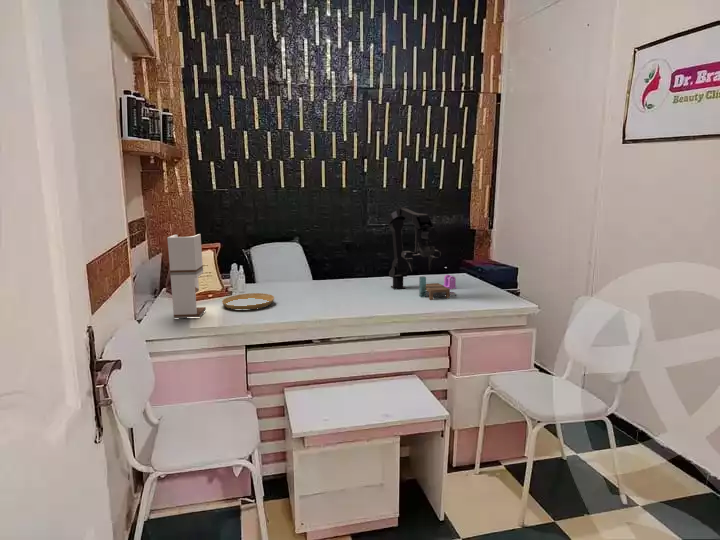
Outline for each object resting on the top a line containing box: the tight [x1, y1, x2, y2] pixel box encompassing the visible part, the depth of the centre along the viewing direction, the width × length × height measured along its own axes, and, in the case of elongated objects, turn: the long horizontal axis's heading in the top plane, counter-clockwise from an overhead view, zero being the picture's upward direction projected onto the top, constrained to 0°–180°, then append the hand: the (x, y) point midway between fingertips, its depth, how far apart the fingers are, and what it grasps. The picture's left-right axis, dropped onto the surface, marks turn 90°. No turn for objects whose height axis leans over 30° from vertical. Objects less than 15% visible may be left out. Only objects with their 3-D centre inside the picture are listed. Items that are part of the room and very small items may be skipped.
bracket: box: [442, 274, 457, 290], centre depth 259 cm, size 13×6×7 cm, turn 110°
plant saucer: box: [221, 292, 275, 310], centre depth 229 cm, size 24×24×3 cm
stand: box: [426, 282, 451, 301], centre depth 243 cm, size 15×10×5 cm, turn 13°
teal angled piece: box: [418, 276, 446, 298], centre depth 243 cm, size 2×14×10 cm, turn 103°
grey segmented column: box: [166, 233, 206, 319], centre depth 209 cm, size 11×11×35 cm
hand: (420, 271), depth 241 cm, fingers open, 9 cm apart
